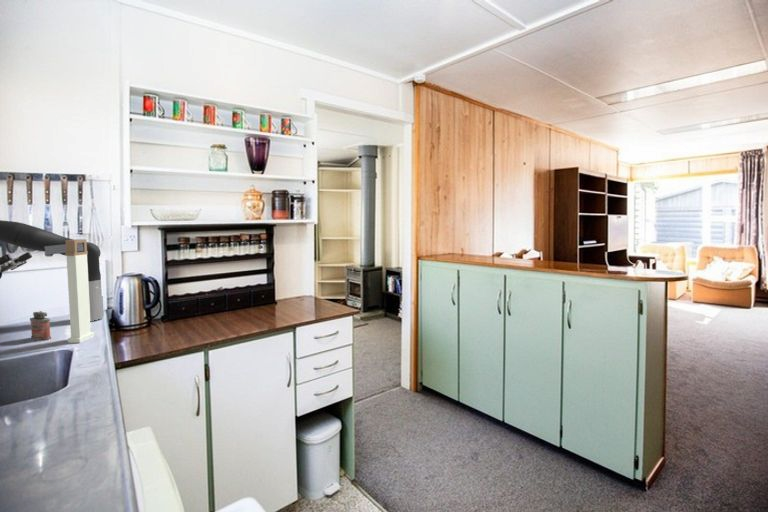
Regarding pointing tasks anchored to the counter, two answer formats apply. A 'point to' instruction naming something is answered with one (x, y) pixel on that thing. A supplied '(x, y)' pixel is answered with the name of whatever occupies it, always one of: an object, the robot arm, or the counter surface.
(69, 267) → the stand
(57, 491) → the counter surface
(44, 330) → the lighter
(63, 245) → the steel bar
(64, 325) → the counter surface
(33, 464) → the counter surface
